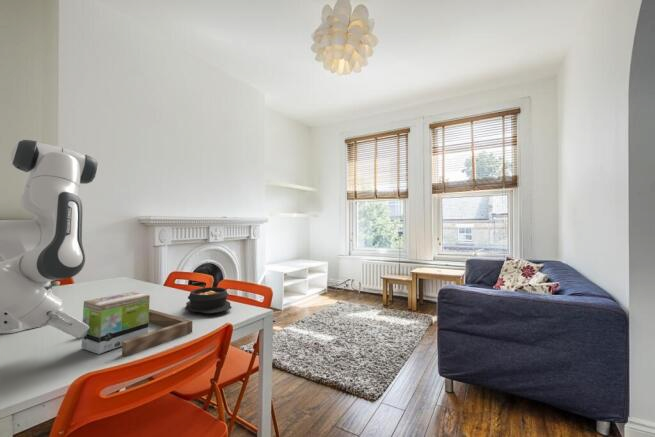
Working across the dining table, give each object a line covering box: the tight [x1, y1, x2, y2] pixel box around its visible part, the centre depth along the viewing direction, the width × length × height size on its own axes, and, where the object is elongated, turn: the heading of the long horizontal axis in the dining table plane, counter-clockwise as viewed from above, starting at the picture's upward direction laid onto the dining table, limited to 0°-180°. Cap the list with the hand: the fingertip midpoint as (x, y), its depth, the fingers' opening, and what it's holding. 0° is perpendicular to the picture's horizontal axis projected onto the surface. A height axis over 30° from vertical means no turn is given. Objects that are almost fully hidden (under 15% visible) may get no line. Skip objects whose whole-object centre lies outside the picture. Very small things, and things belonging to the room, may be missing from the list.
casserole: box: [185, 286, 233, 314], centre depth 132 cm, size 25×19×8 cm
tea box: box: [80, 291, 151, 355], centre depth 95 cm, size 15×10×15 cm
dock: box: [121, 308, 194, 358], centre depth 102 cm, size 22×28×4 cm
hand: (83, 334), depth 89 cm, fingers closed
